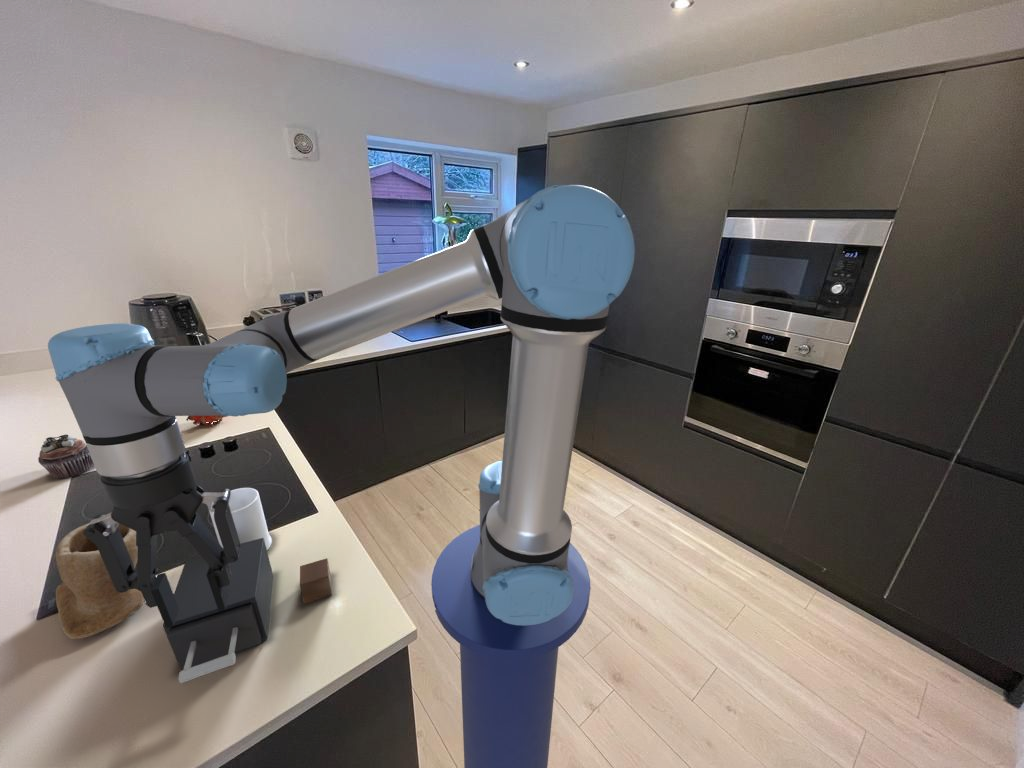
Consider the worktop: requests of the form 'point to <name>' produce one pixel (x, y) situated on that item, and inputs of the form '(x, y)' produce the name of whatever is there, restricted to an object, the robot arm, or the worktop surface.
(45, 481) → the worktop surface
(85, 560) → the stone cup
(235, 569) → the cabinet
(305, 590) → the block
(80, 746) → the worktop surface
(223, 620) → the drawer
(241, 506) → the mug
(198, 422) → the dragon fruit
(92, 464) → the cupcake
